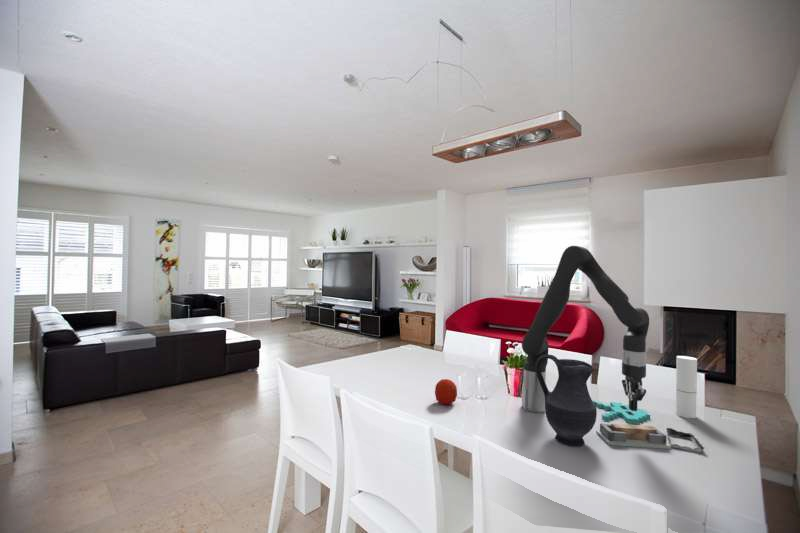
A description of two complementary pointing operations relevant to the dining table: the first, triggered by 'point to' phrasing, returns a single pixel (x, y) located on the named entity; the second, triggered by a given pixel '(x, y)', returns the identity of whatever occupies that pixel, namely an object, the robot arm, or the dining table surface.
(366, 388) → the dining table surface
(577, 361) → the pitcher
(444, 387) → the apple
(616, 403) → the alien figure
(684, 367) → the cylindrical container
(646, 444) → the cradle board
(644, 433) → the slat
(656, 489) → the dining table surface
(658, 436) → the end caps
